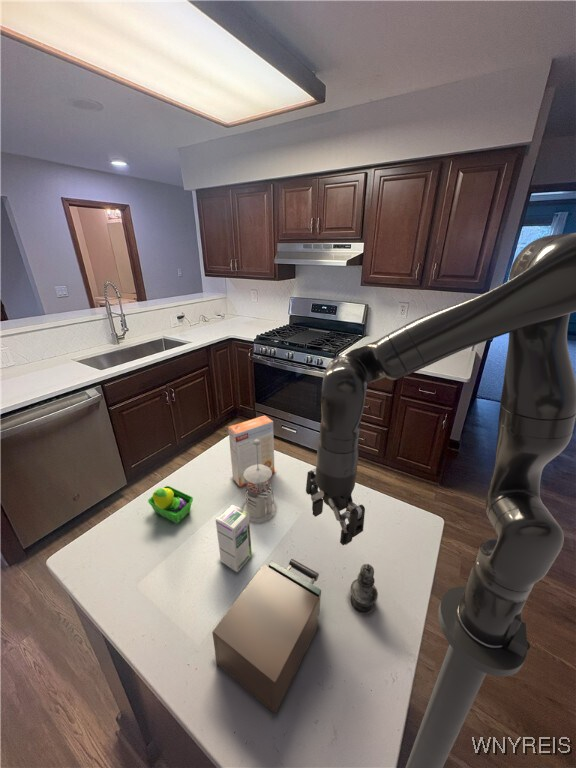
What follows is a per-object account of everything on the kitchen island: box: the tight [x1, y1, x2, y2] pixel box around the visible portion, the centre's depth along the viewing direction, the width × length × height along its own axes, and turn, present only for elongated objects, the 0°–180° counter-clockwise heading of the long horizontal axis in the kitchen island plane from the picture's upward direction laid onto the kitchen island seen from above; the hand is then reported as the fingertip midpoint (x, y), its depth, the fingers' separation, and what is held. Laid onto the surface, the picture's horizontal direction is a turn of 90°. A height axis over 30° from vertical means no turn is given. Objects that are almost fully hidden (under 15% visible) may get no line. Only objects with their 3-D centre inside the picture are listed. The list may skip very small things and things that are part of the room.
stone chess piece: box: [350, 563, 379, 615], centre depth 68 cm, size 6×6×12 cm
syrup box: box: [215, 504, 253, 573], centre depth 77 cm, size 6×6×14 cm
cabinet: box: [212, 563, 319, 715], centre depth 60 cm, size 16×14×10 cm
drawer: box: [268, 558, 322, 617], centre depth 64 cm, size 19×12×8 cm, turn 148°
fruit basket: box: [147, 485, 194, 524], centre depth 91 cm, size 11×9×11 cm
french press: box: [242, 439, 276, 524], centre depth 89 cm, size 10×12×25 cm
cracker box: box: [227, 414, 275, 488], centre depth 105 cm, size 14×6×21 cm, turn 124°
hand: (330, 527), depth 64 cm, fingers open, 8 cm apart
